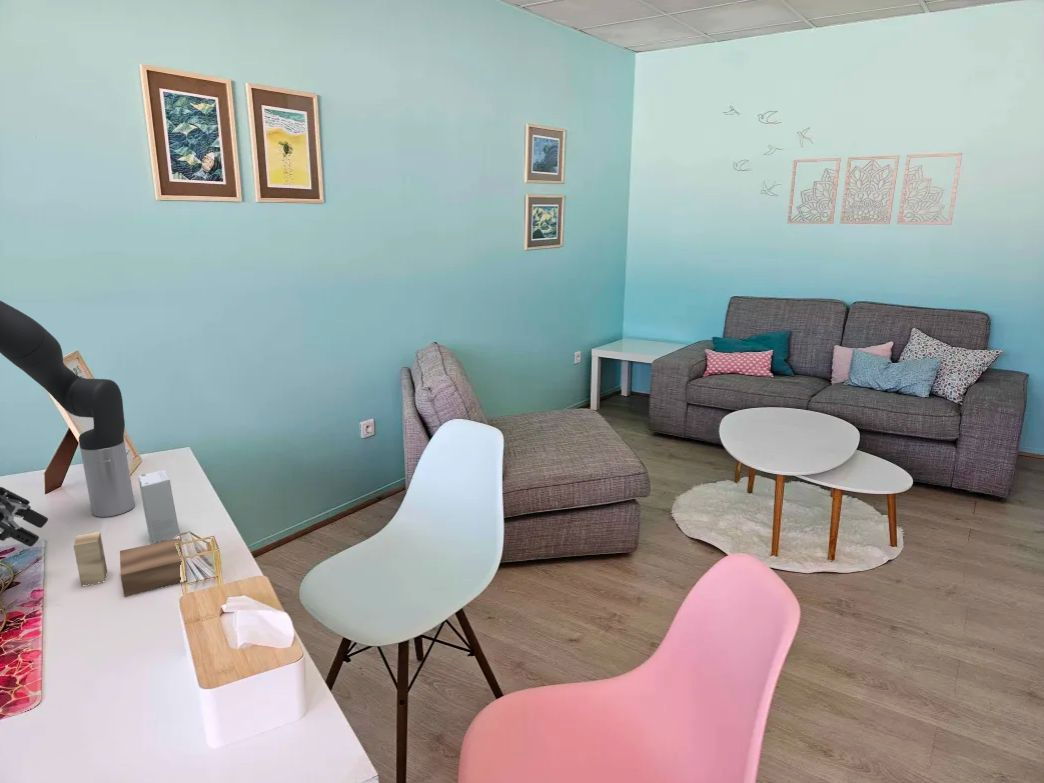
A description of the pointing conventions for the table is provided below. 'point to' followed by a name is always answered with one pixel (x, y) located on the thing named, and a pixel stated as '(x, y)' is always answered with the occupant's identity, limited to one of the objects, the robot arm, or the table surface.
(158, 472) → the skincare box
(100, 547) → the oak post
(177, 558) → the walnut block
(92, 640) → the table surface
